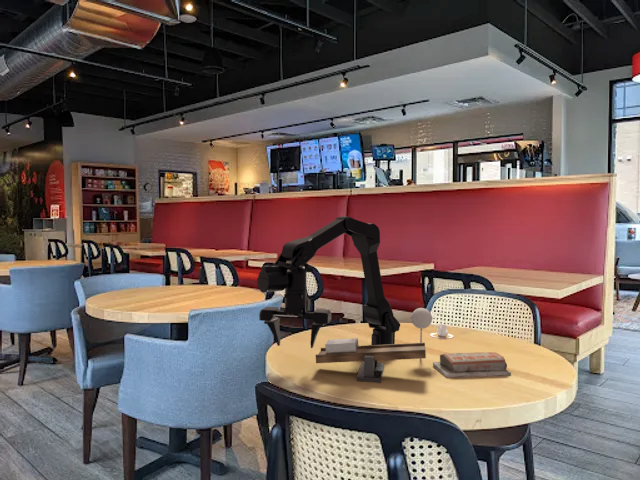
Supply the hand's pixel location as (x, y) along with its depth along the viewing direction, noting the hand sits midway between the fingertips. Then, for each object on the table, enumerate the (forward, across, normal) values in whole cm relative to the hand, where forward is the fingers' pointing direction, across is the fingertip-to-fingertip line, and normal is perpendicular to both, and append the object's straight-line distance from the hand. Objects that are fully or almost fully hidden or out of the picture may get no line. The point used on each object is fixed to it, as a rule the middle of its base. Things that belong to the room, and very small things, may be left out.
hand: (295, 346), depth 135 cm
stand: (+6, -20, 0) cm, 21 cm away
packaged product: (+7, -46, -9) cm, 48 cm away
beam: (+1, -20, 0) cm, 21 cm away
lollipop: (+6, -33, -16) cm, 37 cm away
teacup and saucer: (+7, -43, -48) cm, 65 cm away
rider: (+1, -13, 0) cm, 13 cm away
